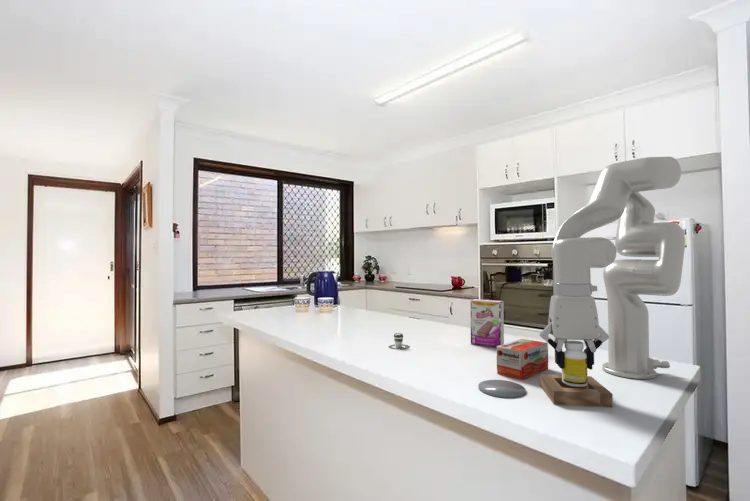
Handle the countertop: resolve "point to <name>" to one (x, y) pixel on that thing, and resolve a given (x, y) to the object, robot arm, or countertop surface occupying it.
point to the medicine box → (522, 358)
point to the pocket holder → (575, 392)
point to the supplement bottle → (574, 364)
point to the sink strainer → (398, 342)
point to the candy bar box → (487, 322)
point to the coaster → (501, 388)
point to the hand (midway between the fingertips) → (574, 366)
